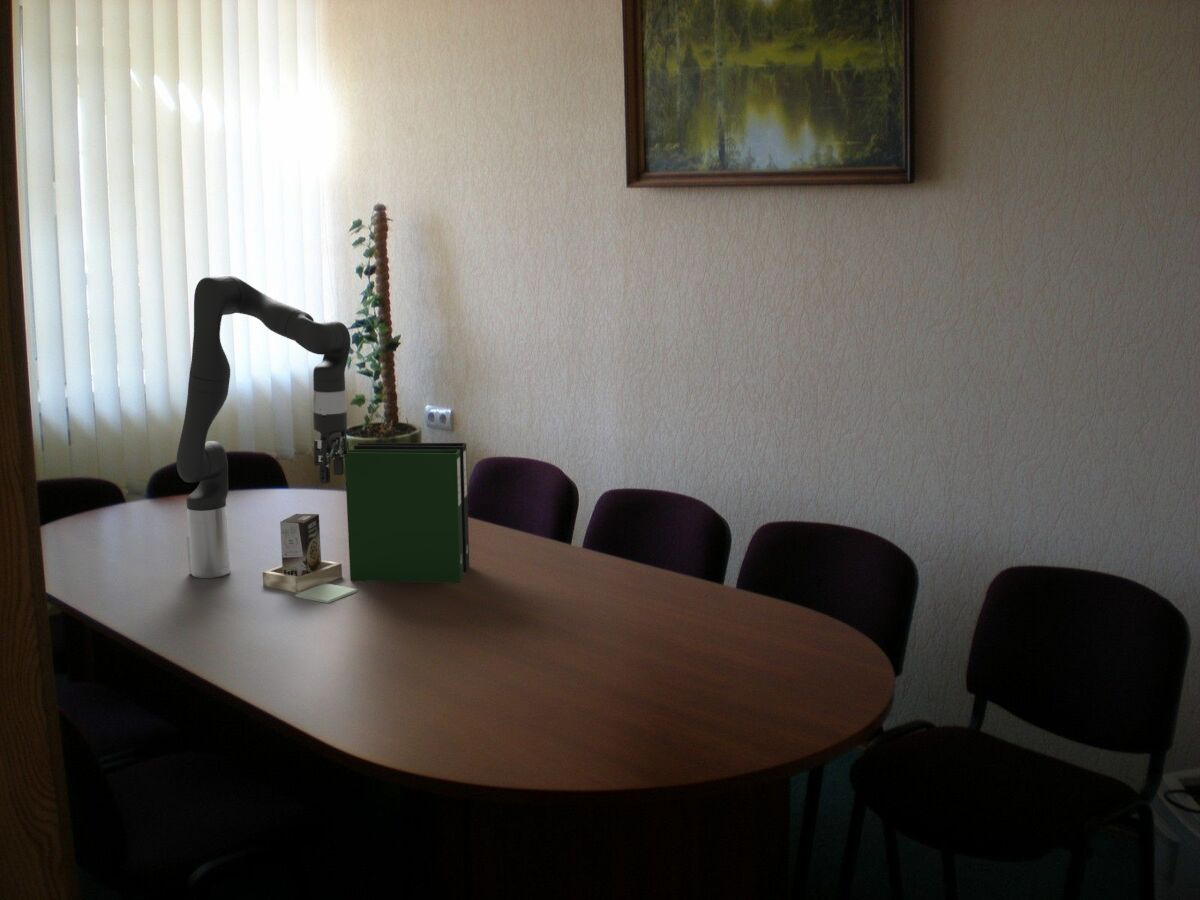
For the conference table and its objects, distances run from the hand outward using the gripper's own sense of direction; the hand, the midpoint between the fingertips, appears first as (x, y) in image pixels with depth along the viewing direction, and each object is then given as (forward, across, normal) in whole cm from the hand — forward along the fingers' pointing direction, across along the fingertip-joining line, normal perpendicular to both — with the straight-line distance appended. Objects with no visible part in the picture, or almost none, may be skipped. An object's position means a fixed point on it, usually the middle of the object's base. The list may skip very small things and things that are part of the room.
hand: (331, 478), depth 273 cm
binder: (+28, -19, +13) cm, 36 cm away
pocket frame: (+28, -9, -11) cm, 32 cm away
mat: (+28, 0, -2) cm, 28 cm away
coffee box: (+29, -9, -11) cm, 32 cm away
